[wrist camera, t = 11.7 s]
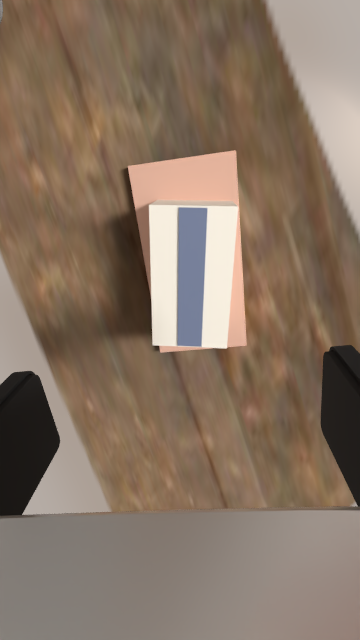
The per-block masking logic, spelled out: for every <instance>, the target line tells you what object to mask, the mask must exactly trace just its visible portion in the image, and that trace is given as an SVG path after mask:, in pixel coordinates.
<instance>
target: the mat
mask: <svg viewBox="0 0 360 640" xmlns="http://www.w3.org/2000/svg"><path fill="white" fill-rule="evenodd" d="M128 170H129V176H130V182H131V187H132V193H133V199H134V205H135V210H136V216H137V222H138V227H139V233H140V239H141V244H142V250H143V256H144V262H145V267H146V273H147V279H148V284H149V290H150V296H151V265H150V227H149V205H150V204H151V203H153V202H155V201H156V200H209V201H233V202H234V203H235V204H236V205H237V206H238V216H237V228H236V241H235V253H234V266H233V278H232V291H231V303H230V316H229V328H228V341H227V347H233V346H246V327H245V309H244V290H243V272H242V254H241V235H240V217H239V198H238V180H237V162H236V150H235V151H228V152H221V153H214V154H207V155H201V156H194V157H187V158H180V159H174V160H167V161H160V162H153V163H146V164H140V165H133V166H128ZM159 347H160V352H172V351H184V350H197V349H209V348H205V347H180V346H159Z"/></svg>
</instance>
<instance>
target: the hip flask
mask: <svg viewBox="0 0 360 640" xmlns="http://www.w3.org/2000/svg"><path fill="white" fill-rule="evenodd" d="M2 13H3V6H2V0H0V22H1V19H2Z"/></svg>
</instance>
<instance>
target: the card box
mask: <svg viewBox="0 0 360 640" xmlns="http://www.w3.org/2000/svg"><path fill="white" fill-rule="evenodd" d="M237 216H238V206H237V205H236V204H235V203H234V202H233V201H209V200H156V201H155V202H153V203H151V204H150V205H149V227H150V265H151V303H152V341H153V345H156V346H180V347H205V348H227V341H228V328H229V316H230V303H231V291H232V278H233V266H234V253H235V241H236V228H237Z"/></svg>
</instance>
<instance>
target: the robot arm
mask: <svg viewBox="0 0 360 640" xmlns="http://www.w3.org/2000/svg"><path fill="white" fill-rule="evenodd" d="M321 428H322V432H323V435H324V437H325V439H326V441H327V443H328V445H329V447H330V449H331V451H332V453H333V455H334V457H335V460H336V462H337V464H338V466H339V468H340V470H341V472H342V474H343V476H344V478H345V480H346V482H347V484H348V487H349V489H350V491H351V493H352V495H353V497H354V499H355V501H356V503H357V505H358V507H347V506H333V507H278V508H237V509H196V510H160V511H126V512H96V513H64V514H41V515H40V514H37V515H22V513H23V512H24V510H25V508H26V506H27V504H28V503H29V501H30V499H31V497H32V495H33V493H34V492H35V490H36V488H37V486H38V484H39V483H40V481H41V479H42V477H43V475H44V473H45V472H46V470H47V468H48V466H49V464H50V463H51V461H52V459H53V457H54V455H55V453H56V452H57V450H58V448H59V444H60V437H59V434H58V431H57V428H56V425H55V422H54V419H53V416H52V413H51V410H50V407H49V404H48V401H47V398H46V395H45V392H44V389H43V386H42V383H41V380H40V378H39V376H38V375H35V374H34V373H33V372H32V371H24V372H14V373H12V374H11V375H10V376H9V377H8V378H7V379H6V380H5V381H4V382H3V383H2V384H1V385H0V640H360V354H359V353H358V351H357V350H356V349H355V348H354V347H353V346H352V345H346V346H334V347H331V348H330V350H329V352H325V353H324V356H323V379H322V404H321Z"/></svg>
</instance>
